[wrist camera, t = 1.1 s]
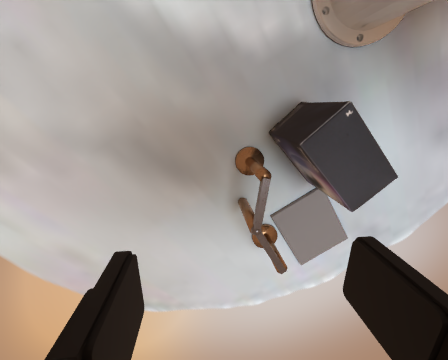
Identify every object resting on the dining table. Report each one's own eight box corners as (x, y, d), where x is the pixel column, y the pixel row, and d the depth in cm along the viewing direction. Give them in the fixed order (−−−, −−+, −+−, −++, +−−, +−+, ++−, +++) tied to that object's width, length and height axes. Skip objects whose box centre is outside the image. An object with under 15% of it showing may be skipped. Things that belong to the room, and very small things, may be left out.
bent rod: (260, 143, 31) (283, 156, 23) (277, 242, 37) (301, 282, 28) (226, 152, 31) (236, 168, 23) (249, 249, 36) (264, 292, 28)
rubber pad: (320, 185, 34) (322, 186, 34) (345, 236, 38) (347, 238, 37) (270, 215, 35) (271, 217, 34) (299, 262, 38) (301, 265, 38)
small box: (265, 133, 31) (296, 145, 21) (301, 100, 30) (352, 95, 20) (307, 184, 34) (352, 216, 24) (341, 156, 33) (402, 175, 23)
